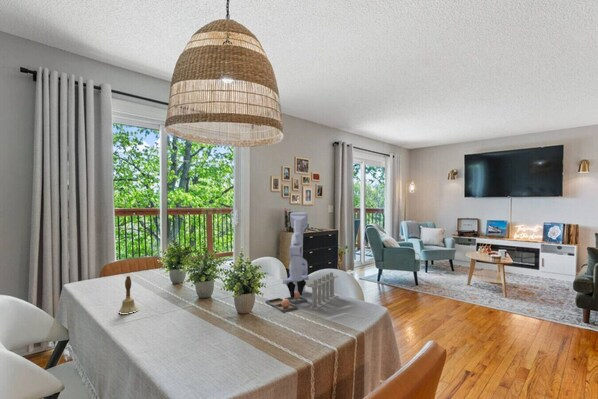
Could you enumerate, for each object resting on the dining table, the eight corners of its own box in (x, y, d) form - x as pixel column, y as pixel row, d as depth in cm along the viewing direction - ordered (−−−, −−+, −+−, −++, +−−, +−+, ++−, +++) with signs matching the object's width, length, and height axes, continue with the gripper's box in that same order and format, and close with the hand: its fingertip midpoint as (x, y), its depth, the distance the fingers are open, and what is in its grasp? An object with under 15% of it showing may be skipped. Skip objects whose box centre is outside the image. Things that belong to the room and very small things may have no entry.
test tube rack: (315, 311, 141) (315, 282, 141) (307, 309, 144) (307, 281, 144) (338, 296, 163) (338, 271, 163) (330, 295, 165) (330, 270, 165)
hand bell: (113, 313, 139) (113, 277, 139) (130, 307, 146) (130, 273, 147) (125, 316, 135) (125, 279, 135) (142, 310, 143) (142, 275, 143)
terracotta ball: (290, 299, 155) (290, 291, 155) (297, 297, 157) (297, 289, 157) (295, 301, 152) (295, 292, 152) (301, 299, 154) (301, 291, 154)
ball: (279, 307, 145) (279, 299, 145) (286, 305, 147) (286, 297, 147) (284, 310, 141) (284, 301, 141) (291, 308, 144) (291, 299, 144)
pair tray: (265, 303, 151) (265, 300, 151) (279, 300, 156) (279, 297, 156) (283, 313, 138) (283, 310, 138) (297, 309, 143) (297, 306, 143)
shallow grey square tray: (284, 301, 156) (284, 298, 156) (297, 298, 160) (297, 295, 160) (293, 305, 149) (293, 302, 149) (307, 302, 154) (307, 299, 154)
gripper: (288, 272, 147) (288, 301, 147) (312, 268, 156) (312, 295, 156) (280, 269, 153) (280, 297, 153) (304, 266, 161) (304, 292, 161)
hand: (296, 296), depth 155 cm, fingers closed on terracotta ball, 4 cm apart
